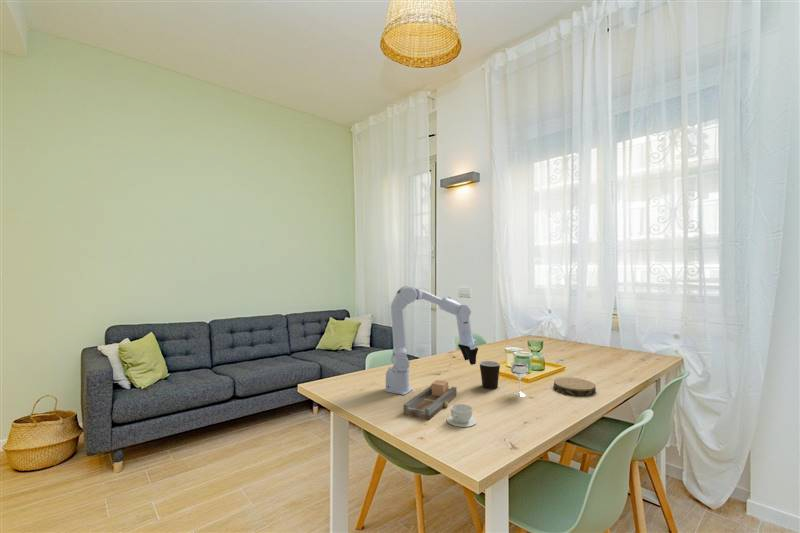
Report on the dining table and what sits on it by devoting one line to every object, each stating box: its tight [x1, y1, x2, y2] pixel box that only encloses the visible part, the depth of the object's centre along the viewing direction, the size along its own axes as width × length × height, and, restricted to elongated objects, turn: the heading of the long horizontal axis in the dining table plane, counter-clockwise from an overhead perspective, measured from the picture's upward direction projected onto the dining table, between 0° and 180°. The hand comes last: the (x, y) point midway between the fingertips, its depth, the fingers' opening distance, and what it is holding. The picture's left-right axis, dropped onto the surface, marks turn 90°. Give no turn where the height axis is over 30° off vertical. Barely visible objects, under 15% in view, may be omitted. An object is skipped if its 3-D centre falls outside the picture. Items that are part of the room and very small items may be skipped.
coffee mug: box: [479, 360, 501, 390], centre depth 161 cm, size 12×9×10 cm
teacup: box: [446, 403, 477, 428], centre depth 125 cm, size 10×10×5 cm
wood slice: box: [553, 376, 597, 397], centre depth 155 cm, size 16×16×3 cm
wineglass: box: [510, 361, 529, 397], centre depth 150 cm, size 7×7×12 cm
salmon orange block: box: [431, 379, 449, 396], centre depth 147 cm, size 5×5×4 cm
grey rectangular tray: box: [403, 384, 457, 421], centre depth 140 cm, size 12×26×4 cm, turn 151°
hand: (470, 361), depth 161 cm, fingers open, 7 cm apart
